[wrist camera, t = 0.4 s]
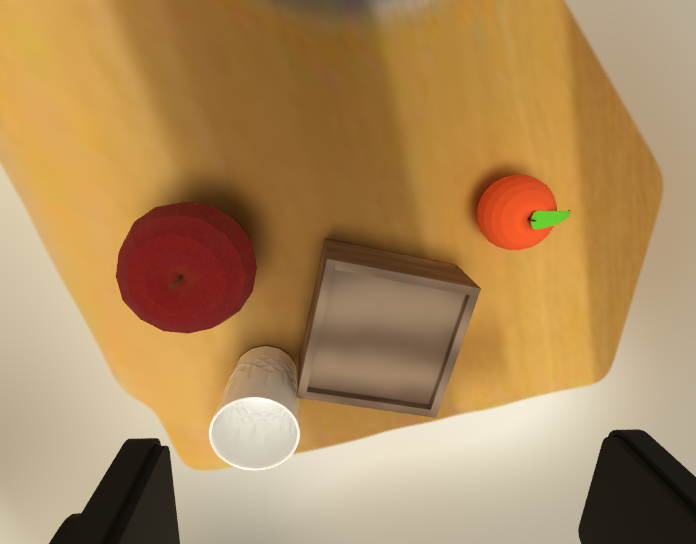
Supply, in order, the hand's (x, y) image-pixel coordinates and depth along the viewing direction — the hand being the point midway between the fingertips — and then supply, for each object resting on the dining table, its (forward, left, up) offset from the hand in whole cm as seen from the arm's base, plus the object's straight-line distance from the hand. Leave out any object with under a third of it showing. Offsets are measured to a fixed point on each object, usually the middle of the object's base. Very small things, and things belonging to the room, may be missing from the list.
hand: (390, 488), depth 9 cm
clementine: (-4, +17, -34) cm, 39 cm away
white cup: (+19, -3, -34) cm, 40 cm away
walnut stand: (+10, +7, -34) cm, 36 cm away
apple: (+6, -11, -34) cm, 36 cm away
